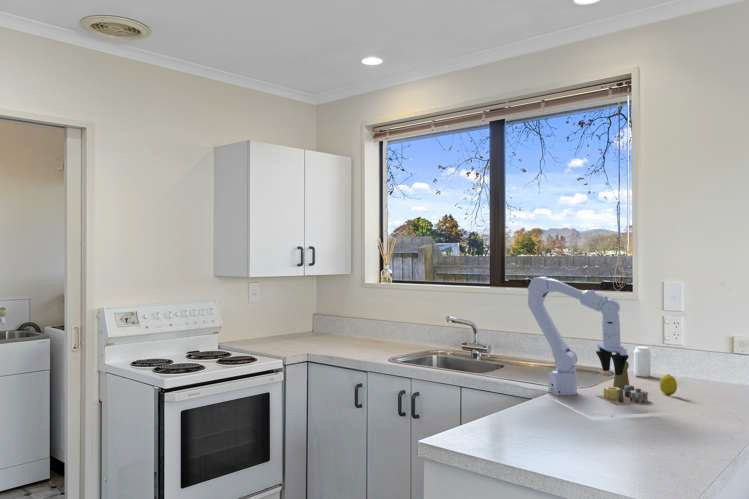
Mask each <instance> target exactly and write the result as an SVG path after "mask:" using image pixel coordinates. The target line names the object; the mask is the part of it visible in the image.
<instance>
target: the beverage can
mask: <svg viewBox="0 0 749 499" xmlns="http://www.w3.org/2000/svg"><path fill="white" fill-rule="evenodd" d="M651 360H652V359H651V350H650V349H649V347H648V346H642V345H641V346H639V345H637V346H635V349H634V350H633V374H634V375H635V376H636V377H637V378H649V377H650V376H651V366H652V364H651Z"/></svg>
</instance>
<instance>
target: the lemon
mask: <svg viewBox="0 0 749 499" xmlns="http://www.w3.org/2000/svg"><path fill="white" fill-rule="evenodd" d="M659 388H660V391H661V392H662V393H663V394H665V395H666V396H668V397H671V395H674V394H675V393H676V392H677V389H678V384H677V380H676V378H675V377H674V376H673V375H671V374H669V373H666V374H665V375H663V376H662V377H661V378H660V381H659Z"/></svg>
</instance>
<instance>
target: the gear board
mask: <svg viewBox="0 0 749 499" xmlns="http://www.w3.org/2000/svg"><path fill="white" fill-rule="evenodd" d="M596 397H597V398H599V399H602V400H603V401H606V402H609V403H610V404H613V405H616V406H627V405H642V404H653V402H652V401H650V400H648V392H647V391H644V390H642V389H641V388H635V386H634V385H631V384H629V385H625V386H624V389H621V390H618V399H611V398H606V397H604V394H603V395H596Z"/></svg>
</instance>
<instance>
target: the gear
mask: <svg viewBox="0 0 749 499" xmlns="http://www.w3.org/2000/svg"><path fill="white" fill-rule="evenodd" d="M618 390H622V389H619V388H618V387H613V386H605V387H603V395H604V397H606V398H611V399H618Z"/></svg>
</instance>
